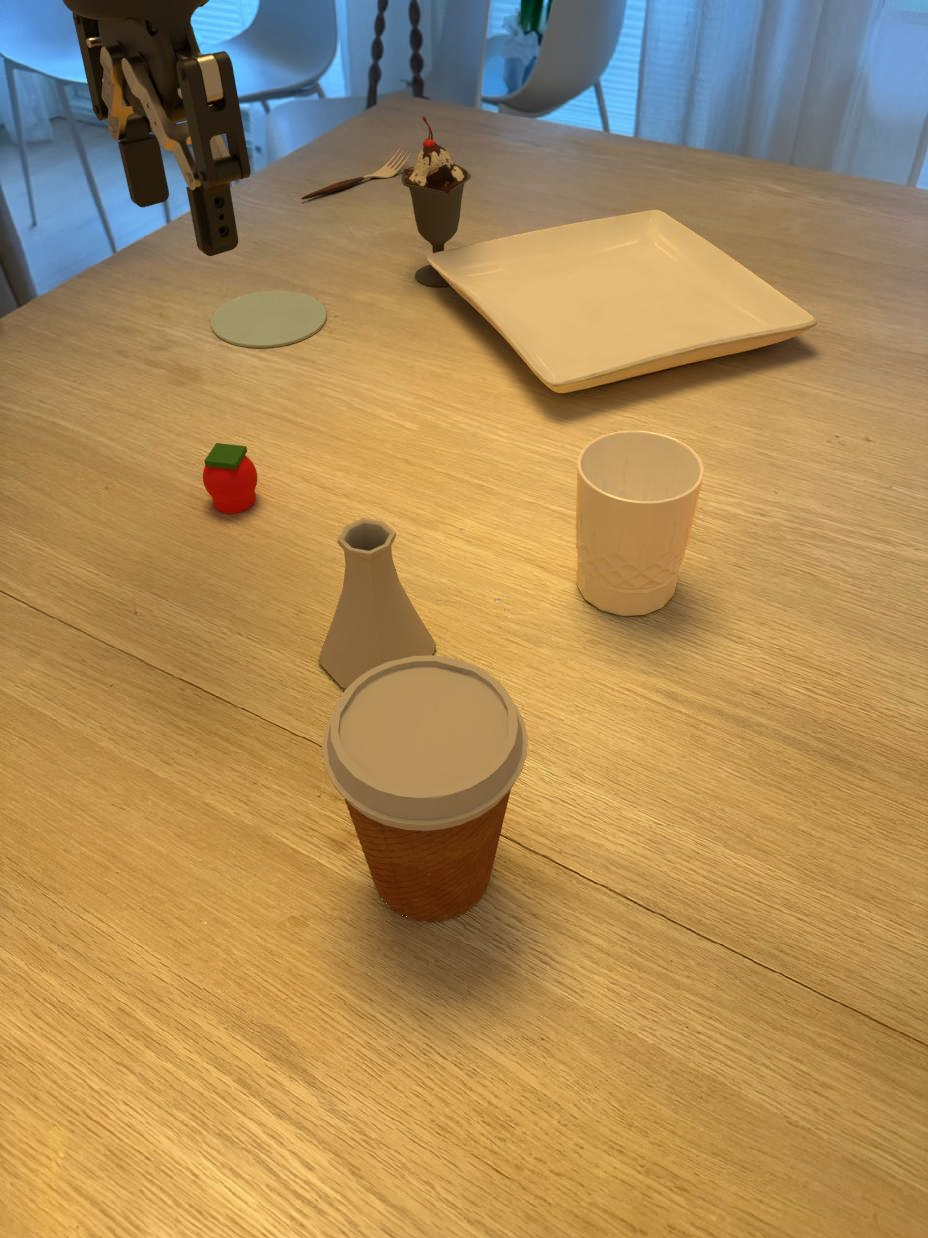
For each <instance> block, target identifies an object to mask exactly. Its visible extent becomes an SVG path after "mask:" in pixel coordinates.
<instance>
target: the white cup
mask: <svg viewBox="0 0 928 1238" xmlns="http://www.w3.org/2000/svg"><path fill="white" fill-rule="evenodd" d="M704 476H705V467H704V463H703V460H702V458H701V457H700V455H699V454H698V453H697V452H696V451H695V450H694V449H693V448H692V447H690V446H689V445H688V444H686V443H685V442H683V441H681V440H680V439H677V438H675V437H673V436H670V435H667V434H664V433H660V432H656V431H649V430H642V429H641V430H640V429H639V430H638V429H636V430H635V429H629V430H628V429H627V430H619V431H613V432H608V433H606V434H603V435H600V436H598V437H595V438H594V439H592V440H590V441H589V442H588V443H587V444H585V446H583V448H582V449H581V450H580V452H579V454H578V456H577V460H576V499H575V502H576V503H575V550H576V556H577V557H576V585H577V588H578V589H579V591H580V593H581V596H582V598H583V599H584V600H585V601H587V602H588V603H590V604H591V605H592V606H594V607H595V608H597V609H598V610H600V611H603V612H606V613H610V614H614V615H616V616H617V615H618V616H622V617H628V616H631V617H633V616H645V615H648V614H650V613H653V612H656V611H658V610H660V609H663V608H664V607H665V606H666V604H667V603H668V602H670V599H672V598H673V596H674V595H675V591H676V586H677V582H678V577H679V573H680V568H681V566H682V563H683V562H684V559H685V555H686V550H687V547H688V543H689V539H690V536H691V532H692V528H693V524H694V520H695V516H696V511H697V507H698V501H699V497H700V493H701V489H702V485H703V480H704Z"/></svg>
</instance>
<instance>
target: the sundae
mask: <svg viewBox="0 0 928 1238" xmlns="http://www.w3.org/2000/svg"><path fill="white" fill-rule="evenodd" d="M421 117H422V118H421V119H422V120H423V122H424V123H425V124H426V126H427V128H428V135H427V139H424V141H423V142H422V146H423V148H422V150H421V151H420V152H419V154H418V155H417V157H416V161H415V163H414V166H410V167H408V168H405V169H403V170H402V174H401V178H400V179H401V184H402V185H403V186H404V187H407V188H409V189H408V190H409V193H410V197H411V202H412V208H413V215H414V220H415V224H416V228H417V232H418V234H419V235H420V236H421V237H422V238H423V239H424V240H425V241H426V242H428V243H429V244H430V246H431V247H432V248H431V249H432V253H436V252H440V251H445V244H446V243H447V242H449V241H450V240H451V239H452V238H453V237H454V236H455V235H456V233H457V232H458V228H459V224H460V218H461V210H462V202H463V201H462V199H463V195H464V194H463V193H464V188H465V184H466V183H467V182H468V181H470V180H471V178H472V175H471V173H469V171H468V170H467V169H465V168H464V167H462V166H460V165H459V164H457V163H454V161H453V160H452V157H451V155H450V153H449V152H448V151H447V150H446V148H444V147H443V146H441V145H439V144H438V143H437V141H436V140H434V136H433V135H434V134H433V131H432V128H431V126H430V124H429V122H428V121H427V117H426V116H425V115H423V116H421ZM414 278H415V280H416V281H417V282H418V283H420V284H422V285H424V286H427V287H434V288H443V287H449V286H450V284H449V283H448V282H447V281H446V280H445V279H444V278H443V277H442V276H441V275H440V273H439V272H438V271H437V270H436V269H434V268H433V266H432V265H431V264H427V265H425V266H422V267H420V268H419V269H418V270H416V271H415V273H414ZM450 287H451V286H450Z"/></svg>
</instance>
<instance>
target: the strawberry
mask: <svg viewBox="0 0 928 1238" xmlns="http://www.w3.org/2000/svg"><path fill="white" fill-rule="evenodd" d="M247 453H248V447H247V446H246V445H238V444H229V443H223V442H221V443H220V442H216V443H214V445H213V447H212V449H211V450H210V451H209V454H208V455H207V456H206V458H205V459H204V460H203V461H204V468H203V470H202V482H203V486H204V488H205V490H206V492H207V493H208V495H209V496H210V497H211V498H212V503H213V506H214V508H215V509H216V510H217V511H219V512H220V513H225V514H239V513H243V512H246V511H247V510H249V509H251V508H252V507H253V505H254V504H255V503H256V501H257V495H256V488H257V484H258V471H257V468H256V466H255V464H254V462H253V461H252V459H250V457H248V456H247Z"/></svg>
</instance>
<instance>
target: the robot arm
mask: <svg viewBox="0 0 928 1238" xmlns="http://www.w3.org/2000/svg"><path fill="white" fill-rule="evenodd" d="M209 2H210V0H62V3H63V5H64V6H65V7H66V8H67V9H68V10H69V11H70V12H71V14H72V20H73V23H74V28H75V32H76V36H77V41H78V45H79V51H80V54H81V60H82V64H83V69H84V75H85V78H86V83H87V88H88V92H89V96H90V102H91V105H92V111H93V113H94V115H95V116H96V118H97V120H98V121H105V120H107V130H108V132H109V134H110V136H111V137H112V139H113V140H114V141H116V142H117V141H118V142H117V144H118V149H119V154H120V158H121V163H122V166H123V172H124V176H125V180H126V186H127V190H128V192H129V198H130V201H131V202H132V203H134V204H135V205H136V206H138V207H139V208H147V207H151V206H154V205H158V204H161V203H165V202H166V201H168V198H170V189H169V185H168V181H167V180H168V179H167V175H166V169H165V165H164V160H163V156H162V150H161V148H162V149H164V150H166V151H169V152H171V153H172V154H173V156H174V158H175V161H176V163H177V165H178V167H179V170H180V172H181V174H182V176H183V179H184V181H185V183H186V185H187V186H186V187H185V188H186V193H187V199H188V205H189V210H190V215H191V220H192V227H193V232H194V237H195V243H196V247H197V249H198V250H199V251H200V252H201V253H202V254H204V255H206V256H208V257H215V256H217V255H220V254H223V253H227V252H230V251H233V250H234V249H236V248H237V246H238V245H239V235H238V228H237V223H236V216H235V210H234V204H233V197H232V191H231V186H230V185H231V183H232V182H236V181H239V180H244V179H247V178H250V177H251V172H252V171H251V165H250V164H251V163H250V158H249V154H248V148H247V147H248V146H247V141H246V136H245V130H244V124H243V117H242V112H241V107H240V101H239V95H238V89H237V83H236V77H235V72H234V66H233V62H232V59H231V56H230V54H229V53H228V52H227V51H225V50H221V51H217V52H212V53H211V52H208V53H202V52H201V49H200V47H199V44H198V40H197V38H196V34H195V31H194V27H193V25H192V17H193V15H194V13H195V12H196V10H197V9H198V8H202V7H204V6H205V5H207V4H208V3H209ZM224 134H225V137H226V143H227V146H226V143H225V141H224V139H223V136H222V135H224ZM189 145H191V148H192V150H191V148H190V146H189ZM192 152H193V153H192Z"/></svg>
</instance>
